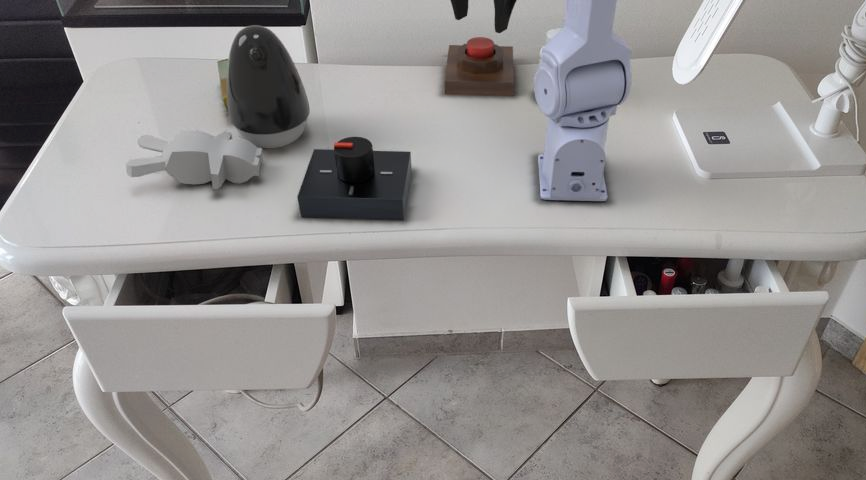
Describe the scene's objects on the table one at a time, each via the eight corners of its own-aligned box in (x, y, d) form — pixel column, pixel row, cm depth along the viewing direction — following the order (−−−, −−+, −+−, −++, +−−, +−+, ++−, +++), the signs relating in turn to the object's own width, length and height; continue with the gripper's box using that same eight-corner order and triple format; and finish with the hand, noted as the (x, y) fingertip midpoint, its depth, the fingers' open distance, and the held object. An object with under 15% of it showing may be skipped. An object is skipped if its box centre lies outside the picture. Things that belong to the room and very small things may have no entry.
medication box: (225, 85, 106) (216, 60, 104) (243, 81, 107) (234, 56, 104) (231, 123, 98) (221, 97, 95) (251, 119, 98) (242, 92, 95)
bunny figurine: (253, 167, 83) (117, 158, 81) (256, 202, 87) (126, 195, 85) (264, 125, 90) (139, 116, 88) (266, 159, 94) (146, 151, 92)
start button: (493, 60, 105) (493, 49, 104) (466, 59, 105) (466, 48, 104) (493, 48, 108) (494, 37, 107) (467, 47, 108) (467, 36, 107)
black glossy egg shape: (234, 163, 91) (206, 49, 81) (236, 122, 98) (210, 13, 88) (315, 155, 93) (297, 42, 82) (311, 115, 100) (294, 7, 90)
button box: (513, 96, 104) (514, 71, 102) (444, 94, 105) (444, 69, 102) (512, 59, 113) (513, 35, 111) (449, 58, 113) (448, 33, 111)
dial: (377, 162, 86) (374, 134, 83) (372, 184, 83) (369, 155, 80) (340, 161, 86) (337, 133, 83) (334, 182, 83) (330, 154, 80)
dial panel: (403, 220, 83) (402, 198, 81) (300, 217, 83) (296, 195, 81) (411, 171, 90) (410, 150, 88) (317, 169, 90) (313, 147, 88)
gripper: (421, -81, 95) (424, 20, 104) (511, -58, 89) (506, 47, 98) (453, -93, 99) (454, 5, 108) (541, -72, 93) (534, 30, 102)
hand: (480, 24), depth 103 cm, fingers open, 7 cm apart
